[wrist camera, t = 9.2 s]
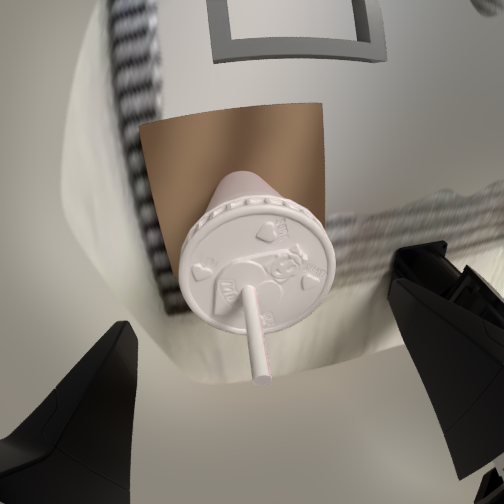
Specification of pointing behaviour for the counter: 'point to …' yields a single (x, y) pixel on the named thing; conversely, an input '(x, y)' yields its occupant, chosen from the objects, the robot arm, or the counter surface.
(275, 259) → the smoothie
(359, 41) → the frame
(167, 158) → the walnut coaster
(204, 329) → the counter surface
